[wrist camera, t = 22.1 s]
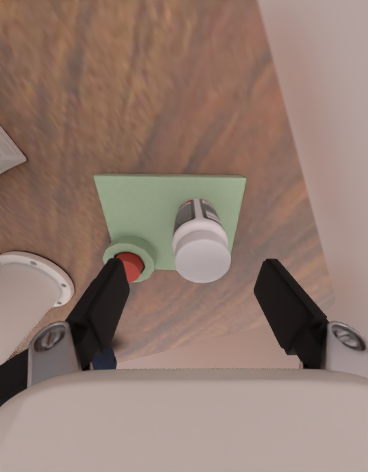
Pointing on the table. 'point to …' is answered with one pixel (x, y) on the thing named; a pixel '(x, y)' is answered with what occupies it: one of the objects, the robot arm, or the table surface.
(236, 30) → the table surface
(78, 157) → the table surface
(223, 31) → the table surface
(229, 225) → the scale
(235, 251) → the table surface
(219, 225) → the pill bottle
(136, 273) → the button
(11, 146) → the cosmetic box
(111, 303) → the robot arm
